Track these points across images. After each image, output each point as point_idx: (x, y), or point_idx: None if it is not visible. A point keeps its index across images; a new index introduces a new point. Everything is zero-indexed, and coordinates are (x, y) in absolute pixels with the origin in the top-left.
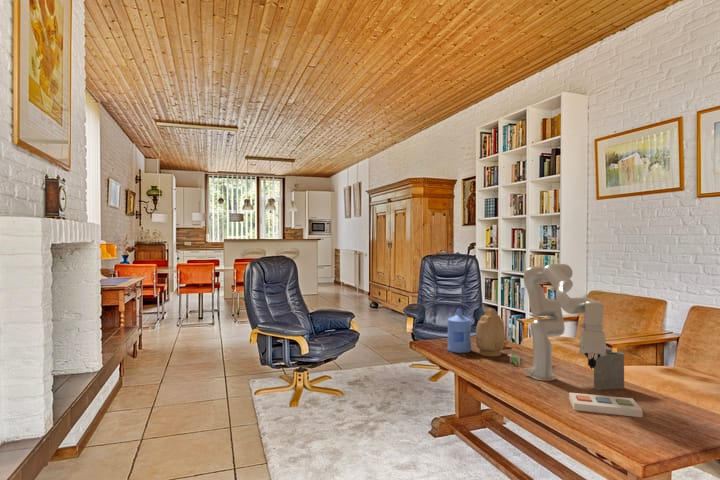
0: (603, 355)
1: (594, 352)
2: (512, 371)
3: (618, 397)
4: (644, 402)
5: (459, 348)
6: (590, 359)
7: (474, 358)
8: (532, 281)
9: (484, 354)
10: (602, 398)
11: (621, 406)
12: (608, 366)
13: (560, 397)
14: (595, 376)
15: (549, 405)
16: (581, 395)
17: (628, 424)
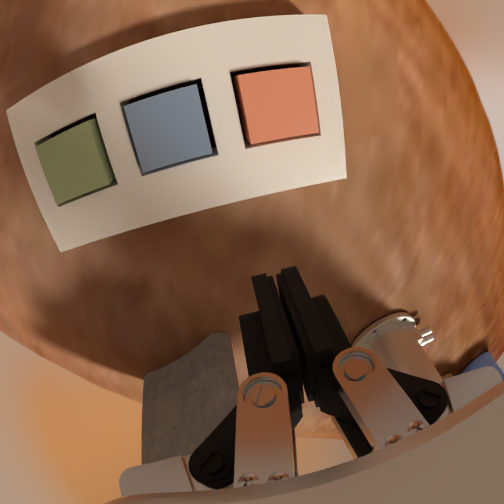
0: (148, 471)
1: (338, 497)
2: (437, 332)
3: (109, 231)
4: (53, 289)
5: (484, 361)
6: (331, 359)
7: (470, 349)
8: None
9: (449, 375)
10: (175, 140)
11: (80, 92)
12: (187, 431)
13: (365, 170)
14: (231, 376)
15: (404, 52)
16: (293, 132)
17: None
